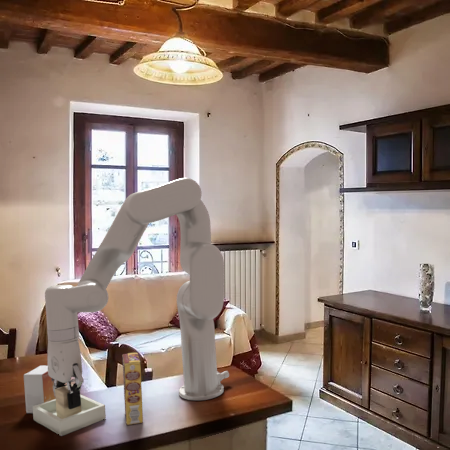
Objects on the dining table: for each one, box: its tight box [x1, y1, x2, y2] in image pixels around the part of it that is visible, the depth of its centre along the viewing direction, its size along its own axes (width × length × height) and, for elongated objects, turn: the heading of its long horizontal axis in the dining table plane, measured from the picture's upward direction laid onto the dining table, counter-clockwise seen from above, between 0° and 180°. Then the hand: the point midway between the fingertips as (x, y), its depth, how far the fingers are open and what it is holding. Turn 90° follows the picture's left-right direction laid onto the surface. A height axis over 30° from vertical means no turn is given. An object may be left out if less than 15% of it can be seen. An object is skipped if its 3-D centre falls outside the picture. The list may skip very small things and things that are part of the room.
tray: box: [32, 393, 107, 437], centre depth 124 cm, size 12×15×4 cm
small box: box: [23, 365, 56, 414], centre depth 133 cm, size 8×6×10 cm
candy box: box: [121, 352, 144, 426], centre depth 123 cm, size 9×4×15 cm, turn 14°
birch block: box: [55, 383, 81, 419], centre depth 124 cm, size 4×4×7 cm
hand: (68, 403), depth 124 cm, fingers open, 5 cm apart
